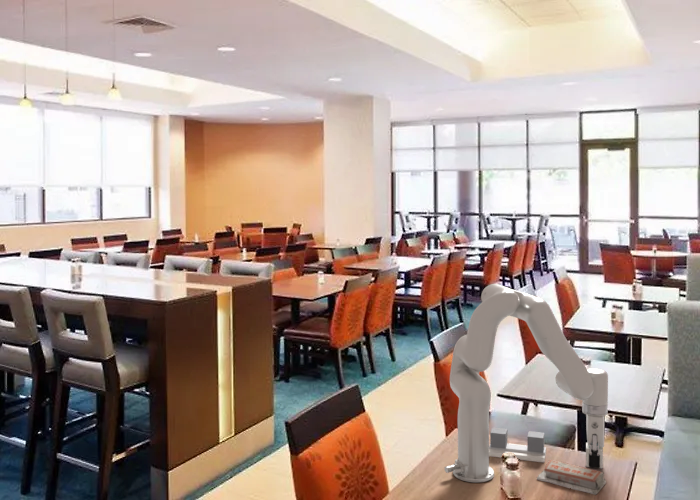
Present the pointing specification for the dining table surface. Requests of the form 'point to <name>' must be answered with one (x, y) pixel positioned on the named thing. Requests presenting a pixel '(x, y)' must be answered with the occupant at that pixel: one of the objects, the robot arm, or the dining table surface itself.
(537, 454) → the rail board
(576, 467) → the packaged product
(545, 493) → the dining table surface
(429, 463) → the dining table surface
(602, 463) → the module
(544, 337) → the robot arm
